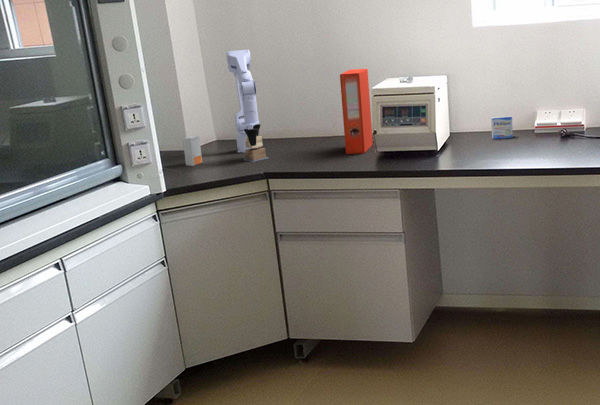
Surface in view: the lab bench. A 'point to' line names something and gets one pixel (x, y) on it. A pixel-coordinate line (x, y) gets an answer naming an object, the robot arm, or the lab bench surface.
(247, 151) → the base block
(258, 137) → the maple block
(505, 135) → the medicine box
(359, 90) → the file binder
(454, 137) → the lab bench surface
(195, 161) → the skincare box
